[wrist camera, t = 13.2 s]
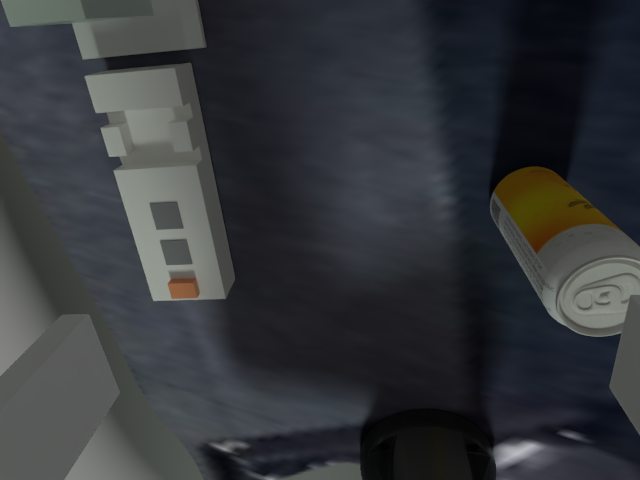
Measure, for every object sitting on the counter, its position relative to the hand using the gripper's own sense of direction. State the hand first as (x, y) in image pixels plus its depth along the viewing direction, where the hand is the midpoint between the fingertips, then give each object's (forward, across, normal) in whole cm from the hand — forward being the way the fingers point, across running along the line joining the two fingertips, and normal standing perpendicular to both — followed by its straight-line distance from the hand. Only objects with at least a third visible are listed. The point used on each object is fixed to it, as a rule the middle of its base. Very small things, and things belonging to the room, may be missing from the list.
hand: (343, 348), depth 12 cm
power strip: (+28, +16, +5) cm, 33 cm away
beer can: (+29, -13, +8) cm, 33 cm away
